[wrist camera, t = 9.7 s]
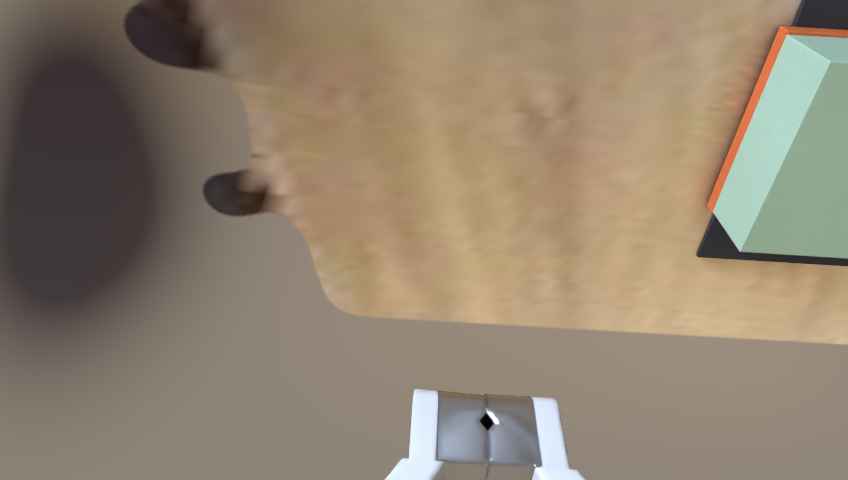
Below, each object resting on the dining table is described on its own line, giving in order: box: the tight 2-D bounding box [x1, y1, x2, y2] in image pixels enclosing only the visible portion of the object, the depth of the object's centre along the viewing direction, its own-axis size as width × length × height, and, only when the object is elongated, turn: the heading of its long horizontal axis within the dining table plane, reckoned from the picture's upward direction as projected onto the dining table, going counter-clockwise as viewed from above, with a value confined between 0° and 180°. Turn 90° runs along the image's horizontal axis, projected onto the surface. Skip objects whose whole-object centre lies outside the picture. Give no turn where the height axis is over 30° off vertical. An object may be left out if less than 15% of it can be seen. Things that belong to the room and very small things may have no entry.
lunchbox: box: [707, 26, 848, 258], centre depth 34 cm, size 6×13×9 cm
